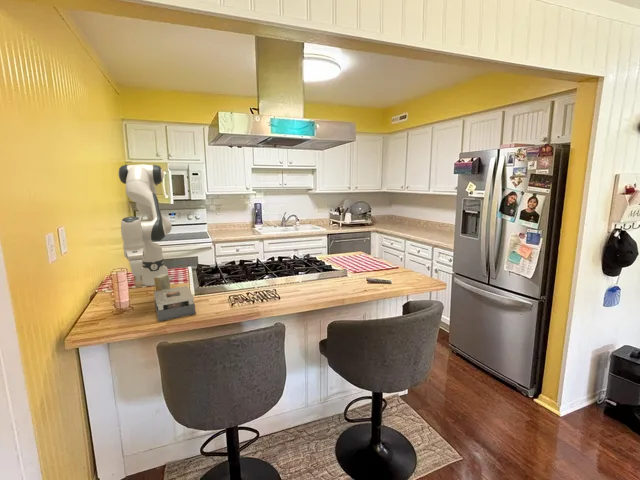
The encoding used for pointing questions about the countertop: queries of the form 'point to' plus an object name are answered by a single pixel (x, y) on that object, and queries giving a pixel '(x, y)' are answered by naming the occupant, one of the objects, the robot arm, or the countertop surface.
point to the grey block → (138, 284)
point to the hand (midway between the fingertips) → (138, 280)
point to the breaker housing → (174, 303)
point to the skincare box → (162, 282)
